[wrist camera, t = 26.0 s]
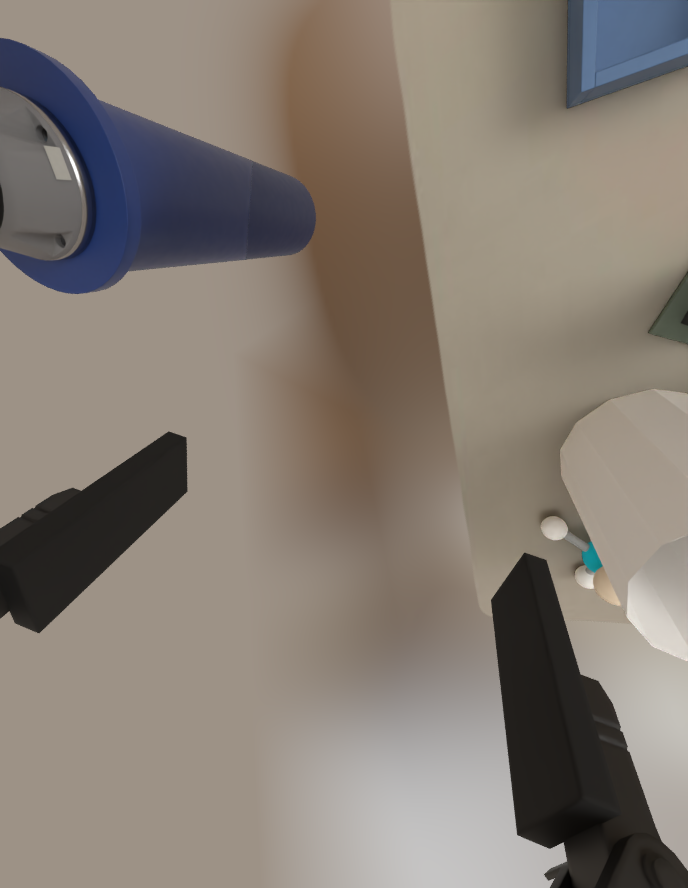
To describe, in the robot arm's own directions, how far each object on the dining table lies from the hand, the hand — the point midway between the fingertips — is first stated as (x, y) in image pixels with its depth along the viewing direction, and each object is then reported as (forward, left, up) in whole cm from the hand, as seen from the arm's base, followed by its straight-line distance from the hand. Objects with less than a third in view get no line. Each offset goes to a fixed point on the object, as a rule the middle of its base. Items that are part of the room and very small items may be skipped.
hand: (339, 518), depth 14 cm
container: (+26, -5, -29) cm, 39 cm away
